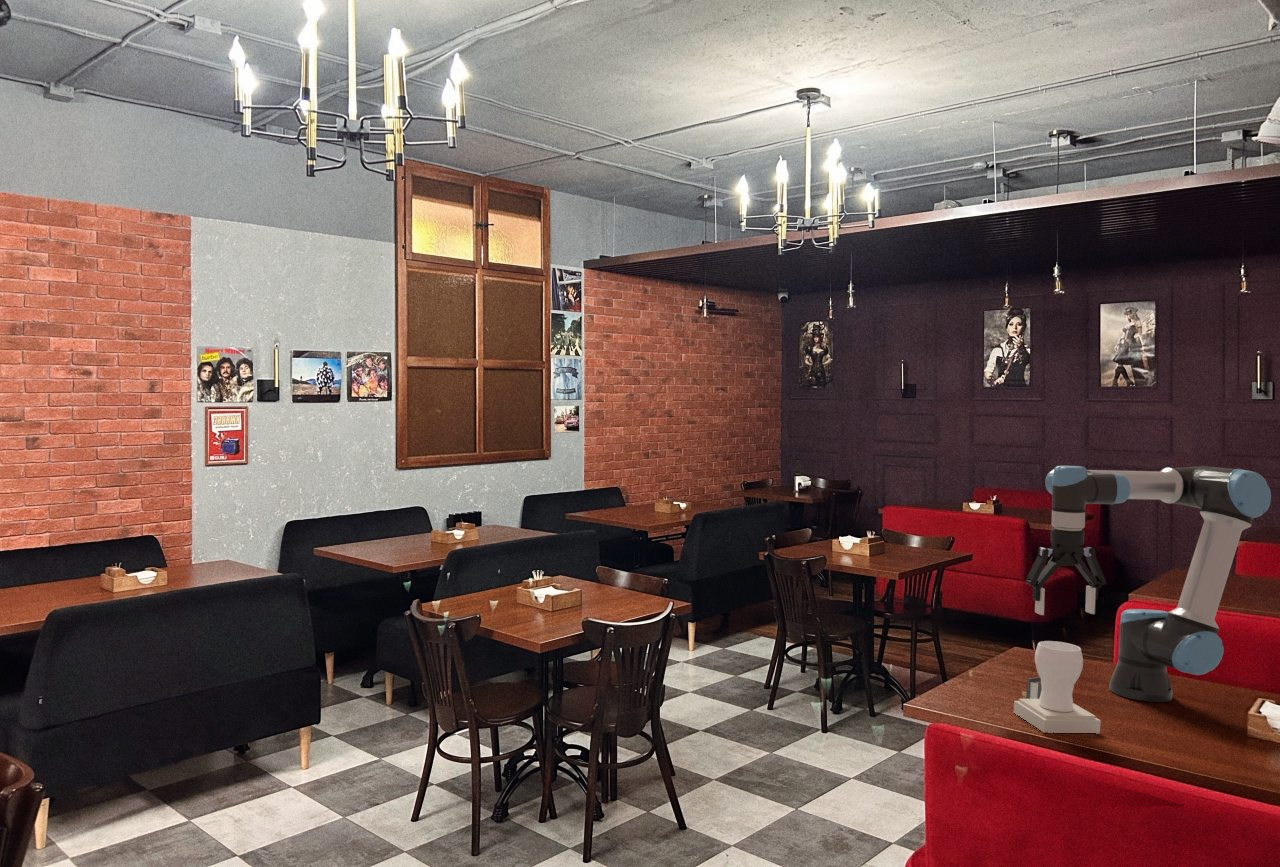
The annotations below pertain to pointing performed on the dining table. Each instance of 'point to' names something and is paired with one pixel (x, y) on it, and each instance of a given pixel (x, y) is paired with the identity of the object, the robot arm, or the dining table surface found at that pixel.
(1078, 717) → the pedestal
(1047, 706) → the cup
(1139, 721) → the dining table surface
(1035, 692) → the napkin holder
